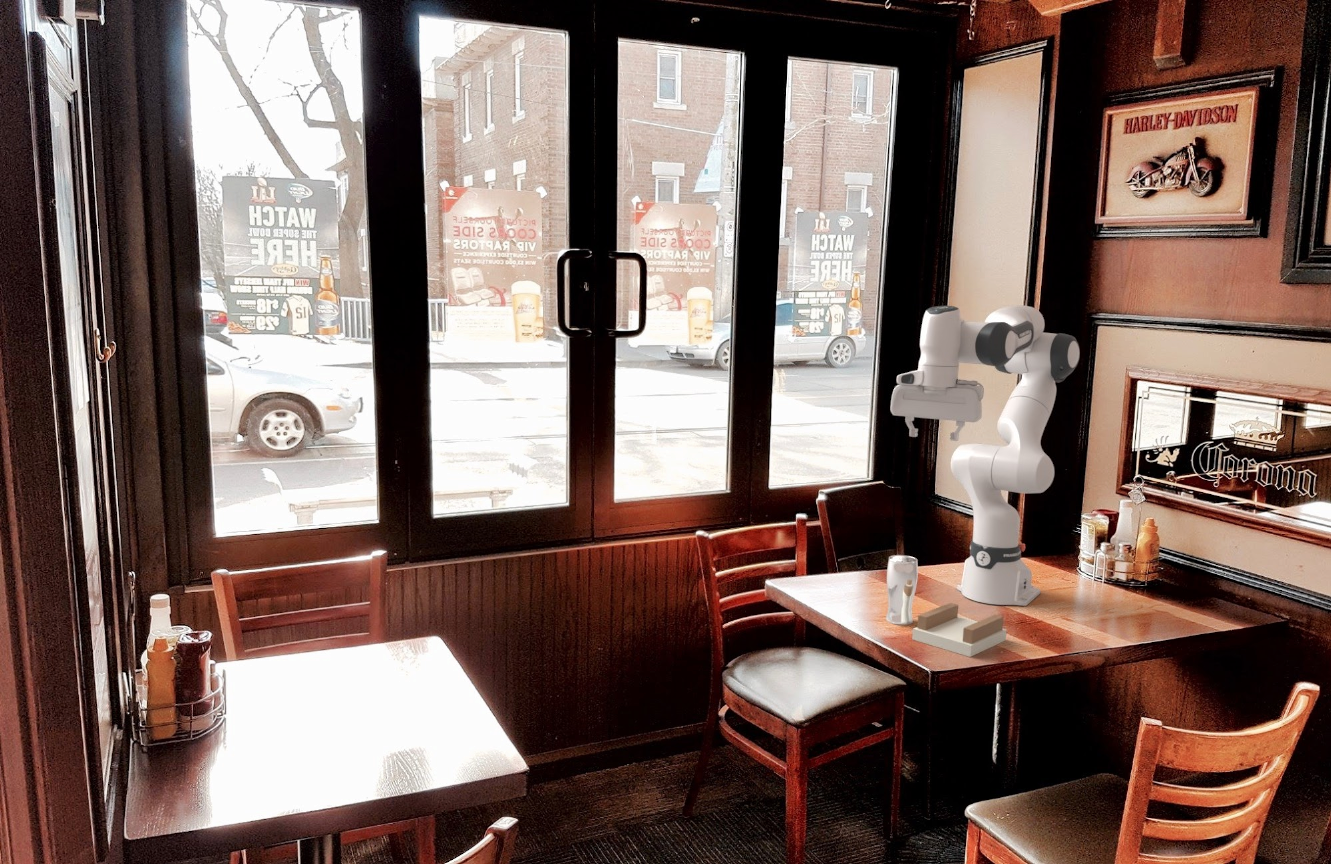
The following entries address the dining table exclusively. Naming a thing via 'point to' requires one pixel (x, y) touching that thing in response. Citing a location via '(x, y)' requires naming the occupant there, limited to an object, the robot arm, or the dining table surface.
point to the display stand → (958, 631)
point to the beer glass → (901, 588)
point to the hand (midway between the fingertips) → (933, 438)
